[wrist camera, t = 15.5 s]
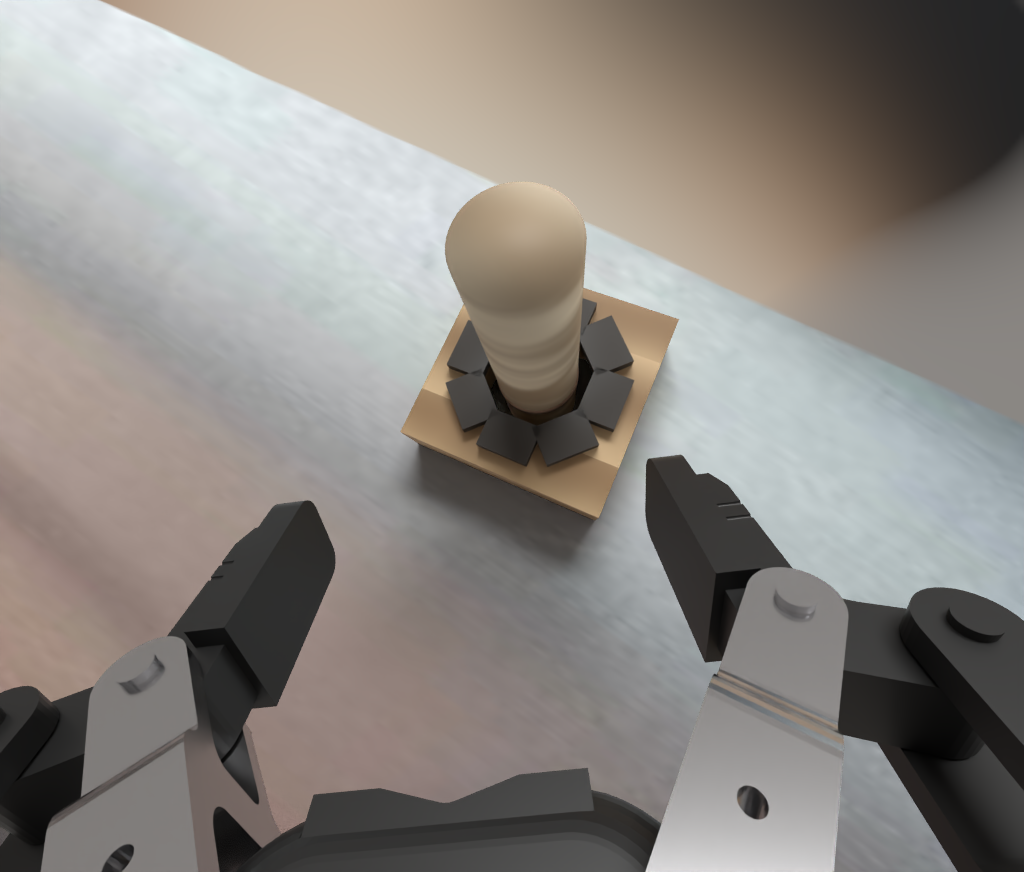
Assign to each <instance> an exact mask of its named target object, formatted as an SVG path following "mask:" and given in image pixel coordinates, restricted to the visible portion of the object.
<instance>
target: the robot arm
mask: <svg viewBox="0 0 1024 872" xmlns="http://www.w3.org/2000/svg"><path fill="white" fill-rule="evenodd" d="M645 513H646V522H647V527H648V531H649V534H650V537H651V540H652V542H653V544H654V547H655V549H656V551H657V553H658V556H659V558H660V560H661V563H662V565H663V567H664V570H665V572H666V574H667V576H668V579H669V581H670V583H671V586H672V588H673V590H674V592H675V595H676V597H677V599H678V602H679V604H680V606H681V608H682V611H683V613H684V615H685V618H686V620H687V622H688V625H689V627H690V629H691V631H692V634H693V636H694V638H695V641H696V643H697V645H698V647H699V650H700V652H701V654H702V657H703V659H704V661H705V662H714V661H722V662H721V665H720V668H719V671H718V673H717V675H716V674H714V675H713V677H712V679H711V681H710V683H709V686H708V689H707V692H706V694H705V697H704V700H703V703H702V706H701V709H700V712H699V715H698V718H697V721H696V724H695V727H694V730H693V733H692V736H691V739H690V742H689V745H688V748H687V751H686V753H685V756H684V759H683V762H682V765H681V768H680V771H679V774H678V777H677V780H676V783H675V786H674V789H673V792H672V795H671V798H670V801H669V804H668V807H667V809H666V812H665V815H664V818H663V821H662V824H661V823H660V822H658V821H657V820H655V819H654V818H652V817H651V816H650V815H648V814H647V813H645V812H644V811H643V810H641V809H639V808H637V807H635V806H634V805H632V804H630V803H628V802H626V801H624V800H622V799H619V798H617V797H614V796H611V795H609V794H606V793H602V792H597V791H593V790H591V786H590V780H589V773H588V768H582V769H572V770H562V771H552V772H542V773H531V774H521V775H517V776H515V777H512V778H510V779H507V780H505V781H503V782H500V783H498V784H495V785H493V786H490V787H488V788H486V789H483V790H481V791H478V792H476V793H473V794H471V795H469V796H466V797H464V798H461V799H459V800H456V801H454V802H450V803H439V802H435V801H431V800H427V799H423V798H418V797H414V796H410V795H406V794H402V793H397V792H393V791H389V790H385V789H381V788H378V789H367V790H357V791H347V792H337V793H326V794H316V795H314V796H313V799H312V802H311V805H310V809H309V812H308V815H307V818H306V821H305V822H303V823H301V824H299V825H297V826H295V827H294V828H292V829H290V830H288V831H286V832H285V833H283V834H281V833H280V831H279V829H278V827H277V825H276V823H275V821H274V818H273V815H272V813H271V809H270V806H269V802H268V798H267V794H266V790H265V786H264V782H263V778H262V774H261V770H260V766H259V762H258V758H257V755H256V751H255V747H254V743H253V739H252V735H251V731H250V729H249V727H248V726H247V725H246V723H245V722H246V720H247V718H248V715H249V713H250V711H251V709H253V708H263V707H272V706H277V704H278V702H279V699H280V697H281V695H282V692H283V690H284V688H285V685H286V683H287V681H288V678H289V676H290V674H291V672H292V669H293V667H294V665H295V662H296V660H297V658H298V655H299V653H300V651H301V648H302V646H303V644H304V641H305V639H306V637H307V634H308V632H309V630H310V627H311V625H312V623H313V620H314V618H315V616H316V613H317V611H318V609H319V606H320V604H321V602H322V599H323V597H324V595H325V592H326V590H327V588H328V585H329V583H330V581H331V578H332V576H333V573H334V570H335V552H334V548H333V546H332V543H331V541H330V539H329V536H328V534H327V532H326V530H325V527H324V525H323V523H322V520H321V518H320V516H319V513H318V511H317V509H316V507H315V505H314V504H313V503H312V502H311V501H300V502H292V503H284V504H277V505H275V506H274V507H273V508H272V509H271V510H270V512H269V513H268V514H267V516H266V517H265V519H264V520H263V521H262V523H261V524H260V526H259V527H258V528H255V529H253V530H252V531H251V532H250V533H248V534H247V535H246V536H245V537H244V538H242V539H241V540H240V541H239V542H238V543H236V544H235V545H234V547H233V548H232V549H231V551H230V552H229V554H228V555H227V556H226V558H225V559H224V560H223V562H222V565H221V566H219V567H218V568H217V570H216V571H215V572H214V574H213V575H212V576H211V581H208V582H207V583H206V585H205V586H204V587H203V589H202V590H201V591H200V593H199V594H198V595H197V597H196V598H195V599H194V601H193V602H192V603H191V605H190V606H189V607H188V609H187V610H186V611H185V613H184V614H183V616H182V617H181V618H180V620H179V621H178V622H177V624H176V625H175V626H174V628H173V629H172V630H171V632H170V633H169V634H168V636H167V637H161V638H157V639H154V640H151V641H149V642H146V643H144V644H142V645H140V646H138V647H136V648H135V649H133V650H131V651H130V652H128V653H127V654H125V655H124V656H122V657H121V658H120V659H119V660H117V661H116V662H115V663H114V664H113V665H112V666H110V667H109V668H108V669H107V670H106V671H105V673H104V674H103V675H102V676H101V677H100V679H99V680H98V681H97V683H96V684H95V686H94V687H91V688H88V689H86V690H83V691H80V692H78V693H75V694H72V695H69V696H67V697H64V698H61V699H59V700H56V701H53V702H50V701H49V700H48V699H47V698H46V697H45V696H44V695H43V694H42V693H41V692H40V691H39V690H38V689H36V688H34V687H31V686H22V687H17V688H13V689H10V690H7V691H4V692H2V693H0V827H2V828H3V829H5V830H6V831H8V832H9V833H10V834H9V835H8V837H7V838H6V839H5V841H4V842H3V844H2V845H1V846H0V872H834V862H835V850H836V839H837V827H838V815H839V804H840V792H841V780H842V769H843V756H844V737H843V735H847V736H851V737H855V738H860V739H864V740H869V741H873V742H877V743H878V744H879V746H880V748H881V749H882V751H883V752H884V754H885V756H886V757H887V759H888V760H889V762H890V764H891V765H892V767H893V769H894V770H895V772H896V773H897V775H898V777H899V778H900V780H901V781H902V783H903V785H904V786H905V788H906V789H907V791H908V793H909V794H910V796H911V797H912V799H913V801H914V802H915V804H916V805H917V807H918V809H919V810H920V812H921V813H922V815H923V817H924V818H925V820H926V821H927V823H928V825H929V826H930V828H931V829H932V831H933V833H934V834H935V836H936V838H937V839H938V841H939V842H940V844H941V846H942V847H943V849H944V850H945V852H946V854H947V855H948V857H949V858H950V860H951V862H952V863H953V865H954V866H955V868H956V870H957V871H958V872H1024V621H1023V620H1022V619H1021V618H1019V617H1018V616H1017V615H1015V614H1014V613H1012V612H1011V611H1009V610H1008V609H1006V608H1004V607H1003V606H1001V605H999V604H997V603H995V602H993V601H991V600H989V599H986V598H984V597H981V596H979V595H976V594H973V593H970V592H966V591H962V590H957V589H952V588H927V589H924V590H921V591H919V592H917V593H915V594H914V596H913V597H912V598H911V600H910V603H909V605H908V607H907V609H904V608H897V607H890V606H883V605H876V604H869V603H862V602H856V601H850V600H846V599H842V597H841V596H840V595H839V594H838V592H836V591H835V590H834V589H833V588H832V587H831V586H830V585H828V584H827V583H826V582H824V581H823V580H821V579H819V578H818V577H815V576H813V575H811V574H809V573H806V572H803V571H800V570H796V569H793V568H792V567H791V566H790V564H789V563H788V562H787V561H786V559H785V558H784V557H783V555H782V554H781V553H780V552H779V550H778V549H777V548H776V546H775V545H774V544H773V543H772V541H771V540H770V539H769V537H768V536H767V535H766V534H765V532H764V531H763V530H762V528H761V527H760V526H759V525H758V523H757V522H756V521H755V519H754V518H751V516H750V513H749V512H748V510H747V509H746V508H745V506H744V505H743V504H741V503H740V500H739V499H738V497H737V496H736V495H735V494H734V492H733V491H732V490H731V488H730V487H729V486H728V485H727V484H725V483H724V482H722V481H720V480H719V479H717V478H715V477H714V476H712V475H711V474H709V473H706V474H698V475H696V474H695V472H694V471H693V469H692V468H691V467H690V465H689V464H688V462H687V461H686V459H685V458H684V457H683V456H682V455H675V456H667V457H659V458H651V459H648V460H647V464H646V506H645Z"/></svg>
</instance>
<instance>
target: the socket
mask: <svg viewBox="0 0 1024 872" xmlns="http://www.w3.org/2000/svg"><path fill="white" fill-rule="evenodd" d="M678 320H679V319H676V318H673V317H670V316H667V315H664V314H661V313H658V312H655V311H652V310H649V309H646V308H643V307H640V306H637V305H634V304H631V303H628V302H625V301H622V300H619V299H616V298H613V297H610V296H607V295H603V294H600V293H597V292H594V291H591V290H588V289H585V288H583V299H582V314H581V329H580V344H579V358H581V359H584V360H587V362H588V365H589V367H590V369H591V371H592V373H593V375H592V377H591V379H590V382H589V384H588V386H587V389H586V391H585V393H584V396H583V398H582V400H581V403H580V405H579V407H578V410H575V411H573V412H570V413H568V414H565V415H563V416H560V417H558V418H555V419H553V420H550V421H548V422H545V423H543V424H540V425H538V426H536V425H533V424H531V423H529V422H526V421H524V420H521V419H519V418H516V417H514V416H511V415H509V414H506V413H504V412H501V411H499V410H498V409H497V406H496V404H495V401H494V399H493V396H492V394H491V388H492V386H493V384H494V382H495V380H496V376H495V374H494V372H493V370H492V367H491V365H490V363H489V360H488V358H487V356H486V353H485V351H484V349H483V347H482V344H481V342H480V340H479V337H478V335H477V333H476V331H475V328H474V326H473V324H472V321H471V319H470V317H469V314H468V312H467V310H466V308H465V305H463V307H462V309H461V311H460V313H459V315H458V317H457V319H456V321H455V323H454V325H453V327H452V329H451V331H450V333H449V335H448V337H447V339H446V341H445V343H444V345H443V347H442V349H441V351H440V353H439V355H438V357H437V359H436V361H435V363H434V365H433V367H432V369H431V371H430V373H429V375H428V377H427V379H426V381H425V383H424V385H423V387H422V389H421V391H420V393H419V395H418V397H417V399H416V401H415V403H414V405H413V407H412V410H411V412H410V414H409V416H408V418H407V420H406V422H405V424H404V426H403V428H402V430H401V433H403V434H404V435H406V436H408V437H409V438H411V439H412V440H414V441H415V442H417V443H418V444H420V445H423V446H425V447H427V448H430V449H432V450H434V451H436V452H439V453H441V454H443V455H446V456H448V457H450V458H453V459H455V460H457V461H459V462H462V463H464V464H466V465H469V466H471V467H473V468H475V469H478V470H480V471H482V472H485V473H487V474H489V475H492V476H494V477H496V478H498V479H501V480H503V481H505V482H508V483H510V484H512V485H514V486H517V487H519V488H521V489H524V490H526V491H528V492H530V493H533V494H535V495H537V496H540V497H542V498H544V499H547V500H549V501H551V502H553V503H556V504H558V505H560V506H563V507H565V508H567V509H569V510H572V511H574V512H576V513H579V514H581V515H583V516H586V517H588V518H590V519H592V520H596V519H598V518H599V516H600V514H601V511H602V509H603V506H604V504H605V501H606V499H607V496H608V494H609V491H610V489H611V486H612V484H613V481H614V479H615V476H616V474H617V471H618V469H619V467H620V464H621V462H622V459H623V457H624V454H625V452H626V449H627V447H628V444H629V442H630V439H631V437H632V434H633V432H634V429H635V427H636V424H637V422H638V419H639V417H640V414H641V412H642V410H643V407H644V405H645V402H646V400H647V397H648V395H649V392H650V390H651V387H652V385H653V382H654V380H655V377H656V375H657V372H658V370H659V367H660V365H661V362H662V360H663V357H664V355H665V353H666V350H667V348H668V345H669V343H670V340H671V338H672V335H673V333H674V330H675V328H676V325H677V323H678Z"/></svg>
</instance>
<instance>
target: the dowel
mask: <svg viewBox="0 0 1024 872" xmlns="http://www.w3.org/2000/svg"><path fill="white" fill-rule="evenodd" d="M586 239H587V238H586V229H585V225H584V221H583V219H582V217H581V214H580V213H579V211H578V209H577V208H576V206H575V205H574V204H573V203H572V202H571V201H570V200H569V199H568V198H567V197H566V196H564V195H563V194H562V193H560V192H559V191H557V190H555V189H553V188H551V187H548V186H546V185H543V184H539V183H534V182H510V183H504V184H500V185H497V186H494V187H491V188H489V189H487V190H485V191H483V192H481V193H479V194H478V195H476V196H475V197H473V198H472V199H471V200H470V201H468V202H467V203H466V204H465V205H464V206H463V207H462V208H461V210H460V211H459V212H458V213H457V215H456V216H455V218H454V220H453V221H452V223H451V225H450V228H449V230H448V234H447V237H446V243H445V255H446V262H447V265H448V268H449V271H450V273H451V275H452V278H453V280H454V282H455V285H456V287H457V289H458V292H459V294H460V296H461V298H462V301H463V303H464V305H465V308H466V310H467V312H468V314H469V317H470V319H471V321H472V324H473V326H474V328H475V331H476V333H477V335H478V337H479V340H480V342H481V344H482V347H483V349H484V351H485V353H486V356H487V358H488V360H489V363H490V365H491V367H492V370H493V372H494V374H495V376H496V379H497V381H498V385H499V388H500V390H501V392H502V395H503V396H504V398H505V399H506V402H507V404H508V406H509V408H510V411H511V413H512V414H513V416H514V417H516V418H519V419H521V420H524V421H526V422H529V423H531V424H533V425H536V426H538V425H540V424H543V423H545V422H548V421H550V420H553V419H555V418H558V417H560V416H563V415H565V414H568V413H570V412H572V410H573V408H574V405H575V401H576V389H577V383H578V374H579V369H578V359H579V344H580V329H581V314H582V299H583V284H584V269H585V254H586Z"/></svg>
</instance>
